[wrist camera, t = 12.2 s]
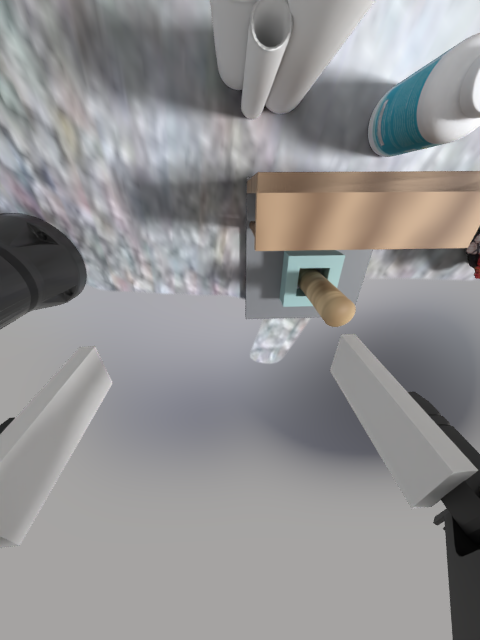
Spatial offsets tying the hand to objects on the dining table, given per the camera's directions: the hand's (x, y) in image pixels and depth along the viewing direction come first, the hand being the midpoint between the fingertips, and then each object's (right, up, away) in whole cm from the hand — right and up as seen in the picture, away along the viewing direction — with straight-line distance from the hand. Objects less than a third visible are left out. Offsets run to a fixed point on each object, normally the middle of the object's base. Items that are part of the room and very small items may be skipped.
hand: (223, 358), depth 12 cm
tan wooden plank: (+13, +20, +22) cm, 32 cm away
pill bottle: (+22, +29, +17) cm, 40 cm away
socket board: (+13, +13, +26) cm, 32 cm away
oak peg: (+13, +10, +27) cm, 31 cm away
